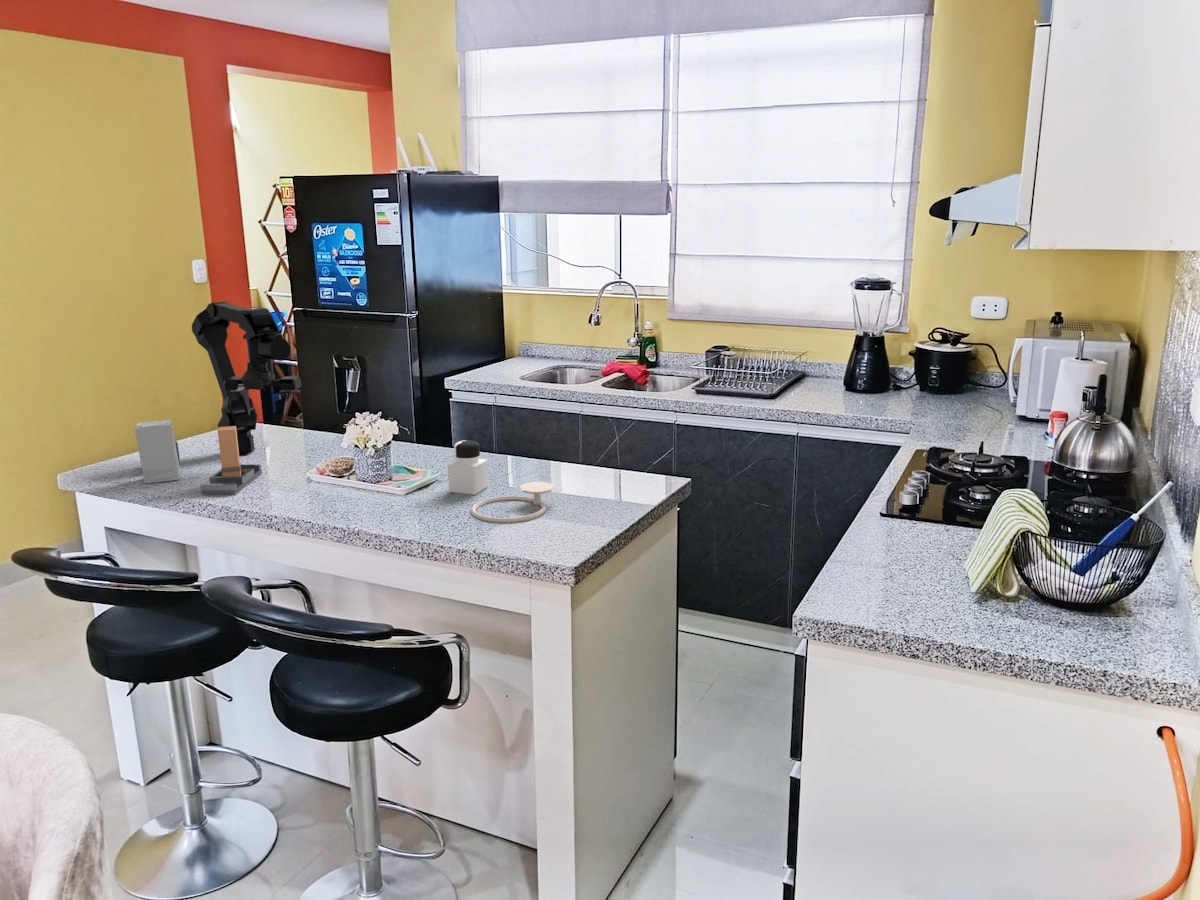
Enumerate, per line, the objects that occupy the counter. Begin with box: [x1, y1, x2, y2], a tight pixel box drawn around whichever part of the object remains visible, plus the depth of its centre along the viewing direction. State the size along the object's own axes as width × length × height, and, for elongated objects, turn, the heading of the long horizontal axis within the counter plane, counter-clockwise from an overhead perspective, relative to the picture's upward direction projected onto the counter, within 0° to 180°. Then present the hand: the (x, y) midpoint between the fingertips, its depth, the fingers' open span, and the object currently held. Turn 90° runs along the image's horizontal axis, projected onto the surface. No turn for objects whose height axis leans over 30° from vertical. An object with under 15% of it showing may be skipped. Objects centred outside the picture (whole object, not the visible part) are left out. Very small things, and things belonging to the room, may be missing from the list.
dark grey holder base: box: [200, 464, 263, 495], centre depth 227 cm, size 8×18×3 cm, turn 0°
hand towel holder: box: [470, 481, 556, 524], centre depth 207 cm, size 17×4×20 cm
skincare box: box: [134, 419, 181, 484], centre depth 229 cm, size 8×6×15 cm
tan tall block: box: [217, 426, 242, 477], centre depth 225 cm, size 4×4×13 cm
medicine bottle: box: [447, 439, 489, 496], centre depth 220 cm, size 7×7×12 cm
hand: (265, 415), depth 243 cm, fingers open, 9 cm apart
